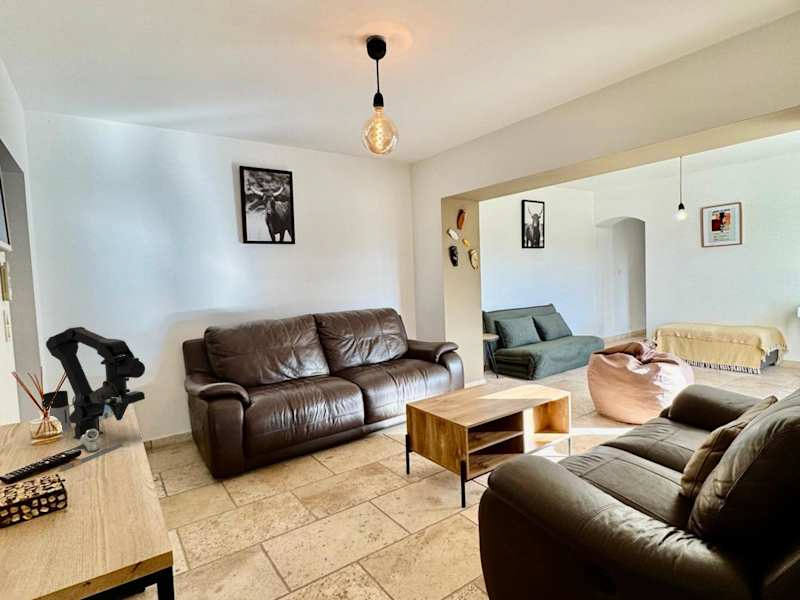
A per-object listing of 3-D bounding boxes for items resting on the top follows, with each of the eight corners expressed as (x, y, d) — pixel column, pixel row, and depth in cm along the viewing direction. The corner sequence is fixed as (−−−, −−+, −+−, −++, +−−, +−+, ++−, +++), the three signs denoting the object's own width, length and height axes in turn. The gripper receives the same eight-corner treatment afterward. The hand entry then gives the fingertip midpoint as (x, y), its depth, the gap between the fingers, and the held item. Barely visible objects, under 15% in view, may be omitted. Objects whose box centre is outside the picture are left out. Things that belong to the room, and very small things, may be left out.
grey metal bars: (93, 443, 142) (93, 438, 142) (123, 446, 138) (123, 441, 138) (31, 468, 124) (30, 463, 124) (63, 472, 120) (63, 467, 120)
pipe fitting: (103, 447, 135) (98, 427, 136) (88, 451, 132) (83, 431, 133) (96, 452, 139) (91, 433, 141) (82, 456, 136) (77, 437, 138)
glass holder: (49, 430, 158) (46, 391, 157) (93, 424, 162) (90, 387, 161) (37, 438, 149) (34, 397, 148) (83, 432, 153) (80, 393, 153)
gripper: (72, 381, 139) (76, 426, 140) (114, 383, 134) (117, 430, 134) (104, 373, 150) (107, 415, 150) (144, 375, 144) (147, 418, 145)
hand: (119, 420), depth 145 cm, fingers closed
